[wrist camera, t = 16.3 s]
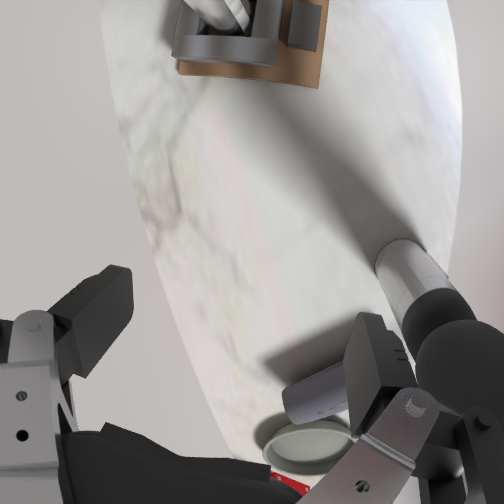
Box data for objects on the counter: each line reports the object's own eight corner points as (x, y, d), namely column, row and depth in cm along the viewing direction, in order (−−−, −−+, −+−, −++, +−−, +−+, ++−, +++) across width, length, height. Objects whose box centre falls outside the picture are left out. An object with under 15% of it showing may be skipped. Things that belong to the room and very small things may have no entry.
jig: (329, -12, 36) (333, -29, 30) (317, 88, 42) (320, 82, 36) (198, -20, 37) (186, -36, 31) (181, 75, 44) (165, 69, 38)
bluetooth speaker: (304, 400, 65) (302, 435, 56) (281, 375, 63) (278, 410, 54) (400, 358, 58) (411, 392, 48) (384, 327, 56) (395, 361, 46)
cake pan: (255, 418, 70) (252, 432, 65) (359, 408, 64) (361, 422, 60) (273, 467, 78) (272, 479, 74) (358, 459, 73) (359, 472, 68)
